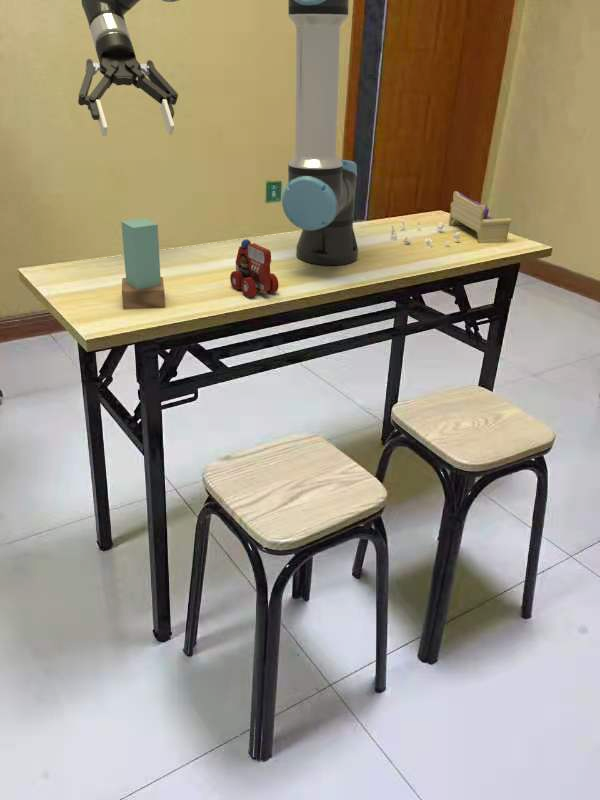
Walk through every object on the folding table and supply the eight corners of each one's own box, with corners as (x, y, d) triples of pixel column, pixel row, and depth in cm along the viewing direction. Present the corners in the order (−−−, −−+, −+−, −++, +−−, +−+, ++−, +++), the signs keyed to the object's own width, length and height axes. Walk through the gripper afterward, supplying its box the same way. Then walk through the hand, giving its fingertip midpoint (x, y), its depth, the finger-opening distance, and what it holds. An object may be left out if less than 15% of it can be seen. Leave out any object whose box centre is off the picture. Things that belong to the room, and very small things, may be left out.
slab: (163, 295, 141) (162, 276, 139) (165, 309, 134) (164, 290, 132) (123, 296, 140) (122, 278, 138) (123, 311, 133) (121, 291, 131)
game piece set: (424, 227, 200) (426, 214, 198) (475, 244, 186) (477, 230, 184) (373, 235, 190) (374, 221, 189) (422, 253, 176) (424, 238, 174)
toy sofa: (508, 243, 187) (515, 205, 182) (479, 244, 185) (485, 206, 180) (473, 224, 205) (478, 189, 200) (446, 225, 203) (451, 189, 198)
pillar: (149, 277, 138) (145, 218, 132) (160, 285, 135) (157, 224, 129) (126, 282, 135) (121, 221, 129) (137, 289, 132) (132, 227, 126)
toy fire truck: (253, 280, 151) (253, 233, 146) (282, 297, 142) (283, 247, 137) (225, 284, 148) (224, 236, 143) (253, 302, 139) (253, 252, 134)
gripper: (167, 59, 151) (193, 141, 147) (50, 57, 141) (74, 145, 136) (174, 32, 145) (201, 117, 140) (51, 28, 134) (76, 119, 130)
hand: (139, 131), depth 138 cm, fingers open, 13 cm apart
